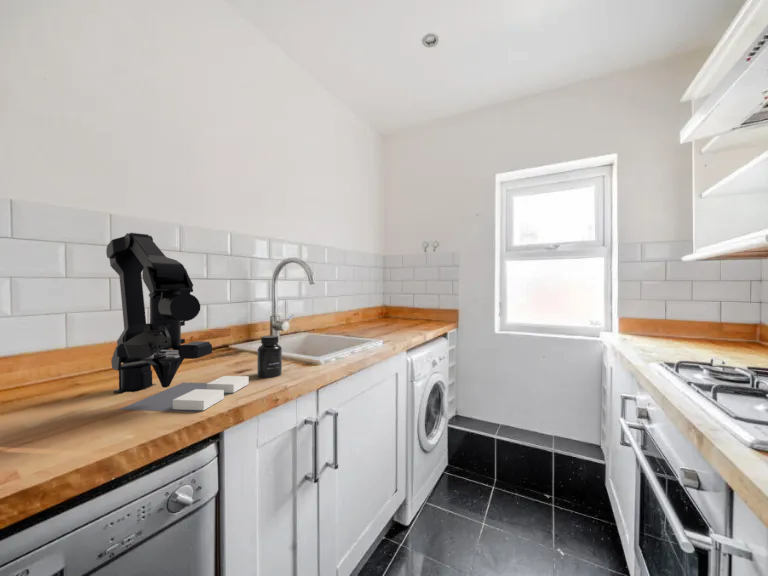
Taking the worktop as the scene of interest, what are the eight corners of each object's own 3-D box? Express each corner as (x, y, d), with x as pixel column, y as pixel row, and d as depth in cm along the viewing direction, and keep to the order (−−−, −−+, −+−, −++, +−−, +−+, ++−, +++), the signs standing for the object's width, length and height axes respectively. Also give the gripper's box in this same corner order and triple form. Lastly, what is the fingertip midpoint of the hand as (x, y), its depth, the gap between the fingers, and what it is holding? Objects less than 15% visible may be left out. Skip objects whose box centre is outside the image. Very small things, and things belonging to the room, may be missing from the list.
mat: (118, 412, 67) (118, 409, 67) (183, 384, 86) (183, 382, 86) (197, 414, 66) (197, 411, 66) (245, 386, 85) (245, 383, 85)
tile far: (206, 383, 78) (233, 384, 77) (223, 375, 85) (248, 376, 84) (206, 392, 78) (233, 393, 77) (223, 384, 85) (248, 384, 84)
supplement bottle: (274, 380, 89) (273, 338, 89) (252, 379, 91) (252, 338, 91) (286, 374, 96) (285, 335, 96) (266, 373, 97) (265, 334, 97)
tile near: (172, 399, 67) (203, 400, 66) (195, 389, 74) (223, 389, 73) (172, 410, 67) (203, 411, 66) (195, 398, 74) (223, 399, 73)
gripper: (91, 321, 63) (91, 398, 64) (178, 323, 62) (178, 402, 62) (138, 316, 75) (139, 381, 75) (213, 317, 73) (213, 384, 73)
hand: (165, 387), depth 71 cm, fingers closed
